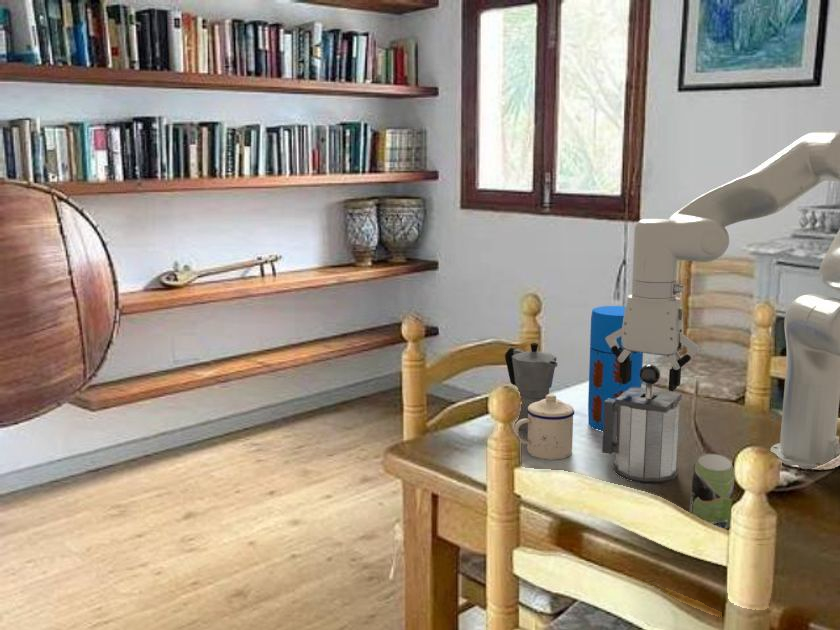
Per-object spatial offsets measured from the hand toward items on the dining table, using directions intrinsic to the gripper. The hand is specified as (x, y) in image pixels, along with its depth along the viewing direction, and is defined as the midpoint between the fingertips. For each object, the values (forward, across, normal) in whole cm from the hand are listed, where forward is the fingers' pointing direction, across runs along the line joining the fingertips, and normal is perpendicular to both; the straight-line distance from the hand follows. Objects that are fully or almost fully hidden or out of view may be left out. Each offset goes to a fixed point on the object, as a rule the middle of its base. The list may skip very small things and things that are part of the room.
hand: (649, 385), depth 152 cm
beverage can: (+17, -16, +18) cm, 29 cm away
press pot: (+16, +1, 0) cm, 16 cm away
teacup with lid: (+17, +20, +1) cm, 26 cm away
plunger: (+14, 0, 0) cm, 14 cm away
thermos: (+17, +14, -22) cm, 31 cm away
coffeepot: (+17, +30, -14) cm, 37 cm away
